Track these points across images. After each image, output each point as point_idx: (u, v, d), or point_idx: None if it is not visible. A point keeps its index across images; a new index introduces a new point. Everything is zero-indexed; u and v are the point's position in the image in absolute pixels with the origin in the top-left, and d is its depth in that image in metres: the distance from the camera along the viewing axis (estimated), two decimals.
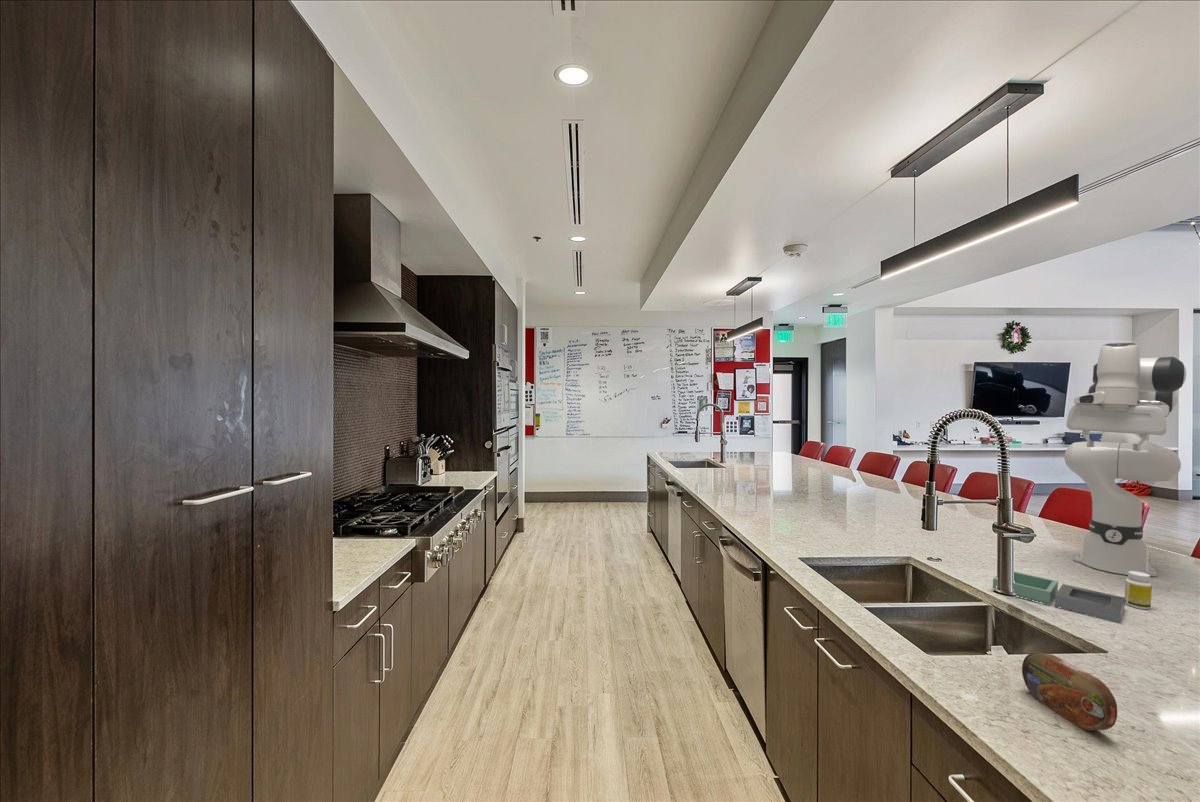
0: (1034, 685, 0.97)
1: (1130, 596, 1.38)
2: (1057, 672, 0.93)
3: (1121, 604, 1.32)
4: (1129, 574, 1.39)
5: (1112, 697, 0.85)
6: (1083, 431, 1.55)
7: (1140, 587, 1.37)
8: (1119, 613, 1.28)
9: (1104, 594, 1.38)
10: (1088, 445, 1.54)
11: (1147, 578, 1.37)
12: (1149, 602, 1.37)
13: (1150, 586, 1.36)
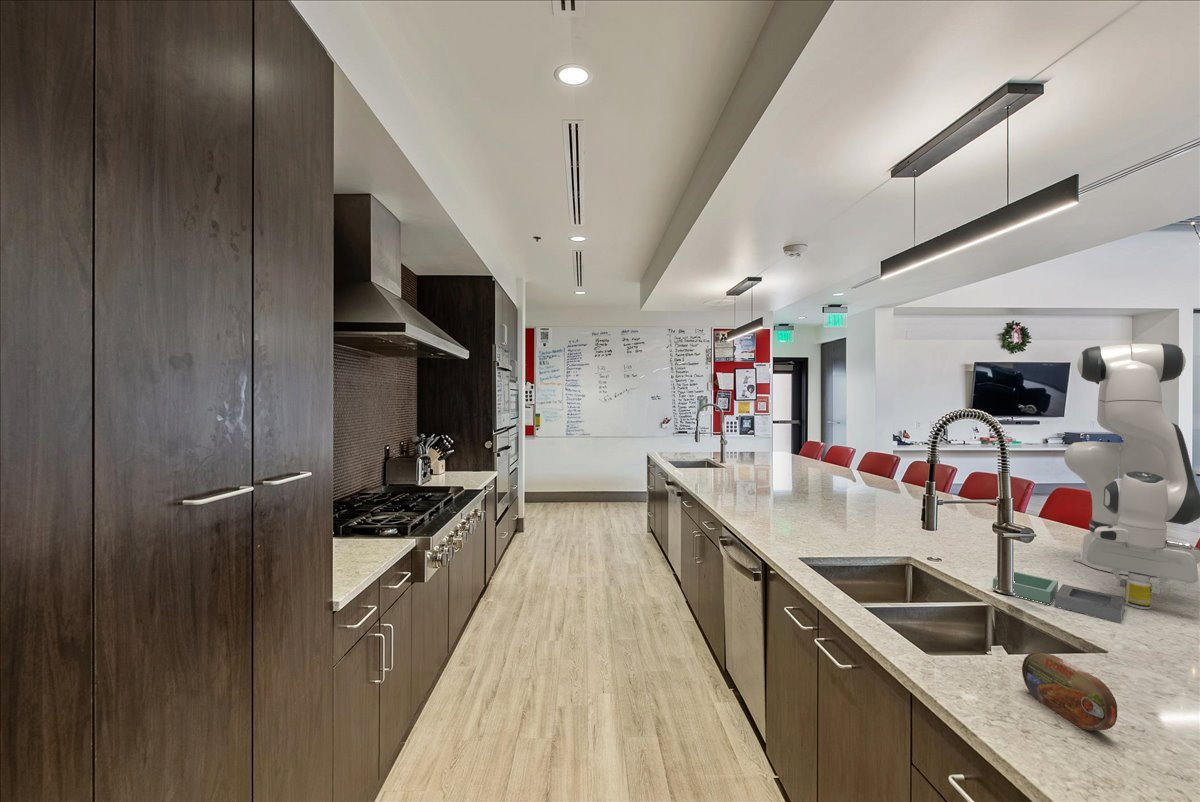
0: (1034, 685, 0.97)
1: (1130, 596, 1.38)
2: (1057, 672, 0.93)
3: (1121, 604, 1.32)
4: (1129, 574, 1.39)
5: (1112, 697, 0.85)
6: (1113, 569, 1.41)
7: (1140, 587, 1.37)
8: (1119, 613, 1.28)
9: (1104, 594, 1.38)
10: (1120, 585, 1.40)
11: (1147, 578, 1.37)
12: (1149, 602, 1.36)
13: (1150, 586, 1.36)
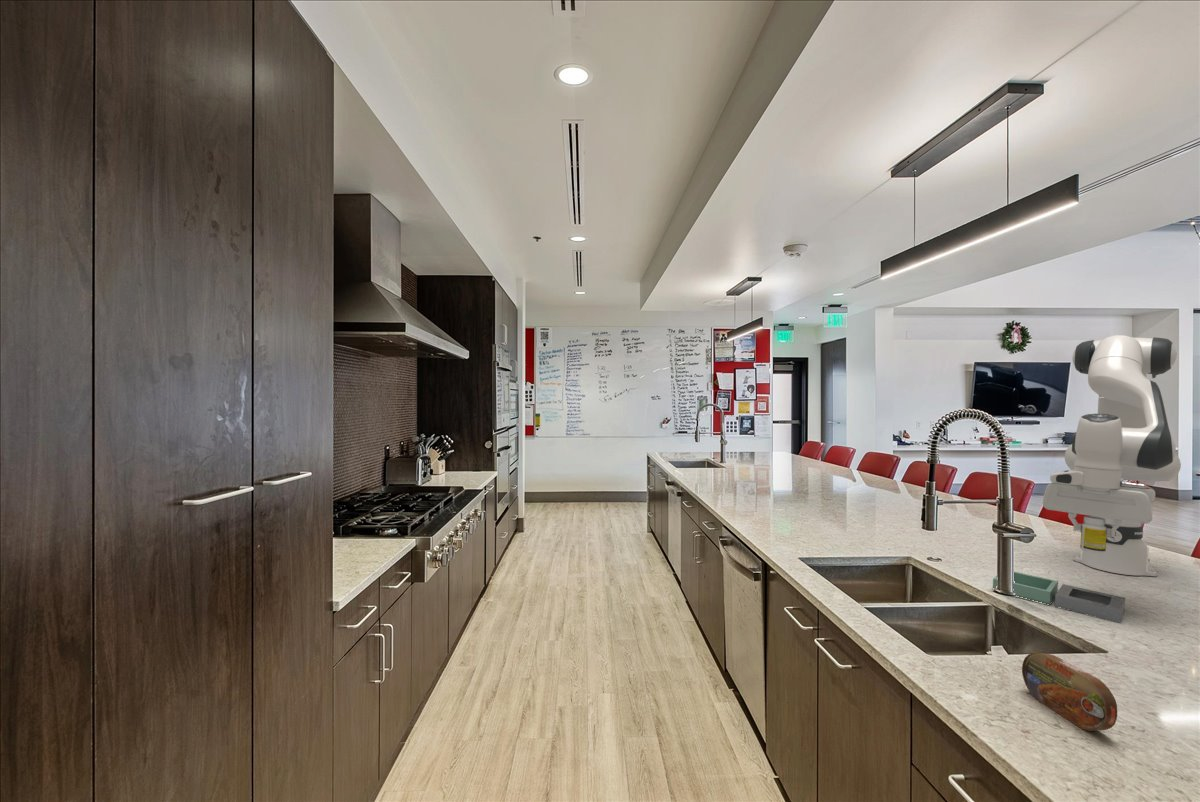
0: (1034, 685, 0.97)
1: (1085, 541, 1.36)
2: (1057, 672, 0.93)
3: (1121, 604, 1.32)
4: (1085, 518, 1.36)
5: (1112, 697, 0.85)
6: (1069, 513, 1.39)
7: (1095, 530, 1.34)
8: (1119, 613, 1.28)
9: (1104, 594, 1.38)
10: (1075, 529, 1.38)
11: (1102, 521, 1.34)
12: (1104, 546, 1.34)
13: (1105, 530, 1.34)
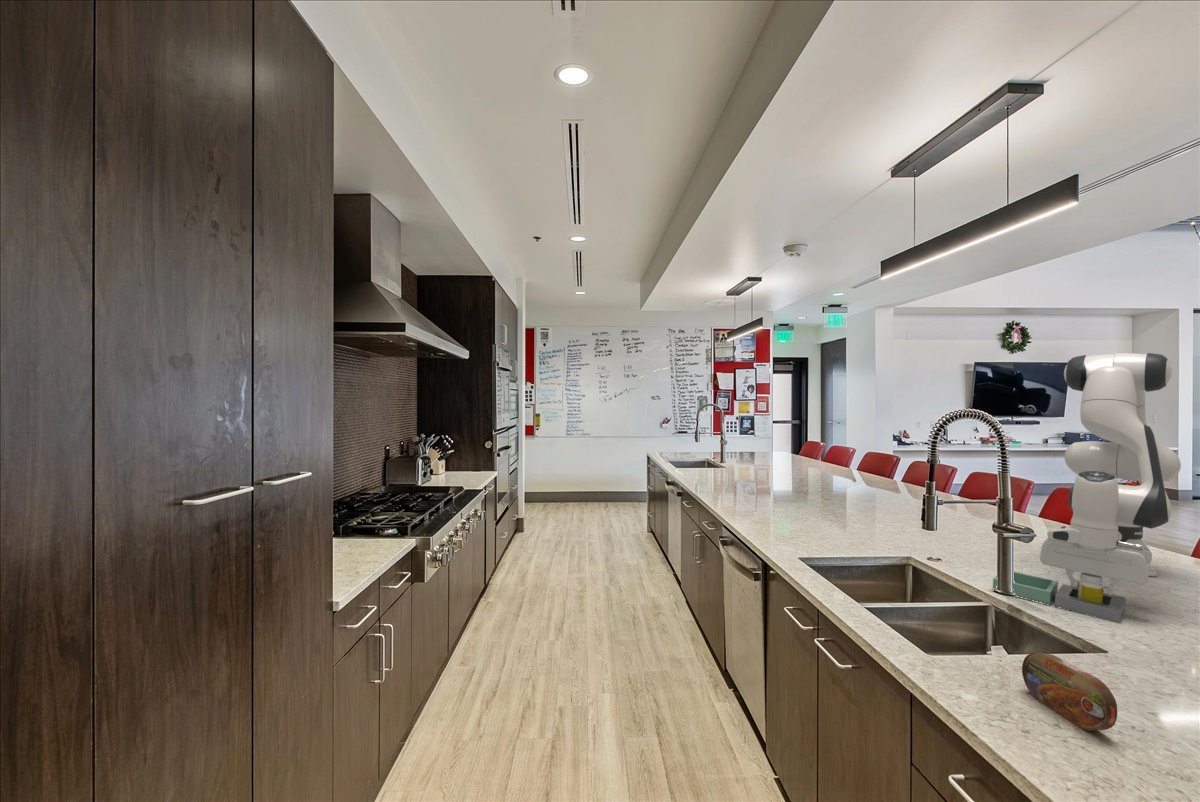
0: (1034, 685, 0.97)
1: (1082, 598, 1.36)
2: (1057, 672, 0.93)
3: (1121, 604, 1.32)
4: (1081, 576, 1.37)
5: (1112, 697, 0.85)
6: (1066, 570, 1.39)
7: (1091, 589, 1.35)
8: (1119, 613, 1.28)
9: None
10: (1072, 586, 1.38)
11: (1099, 580, 1.34)
12: None
13: (1102, 588, 1.34)
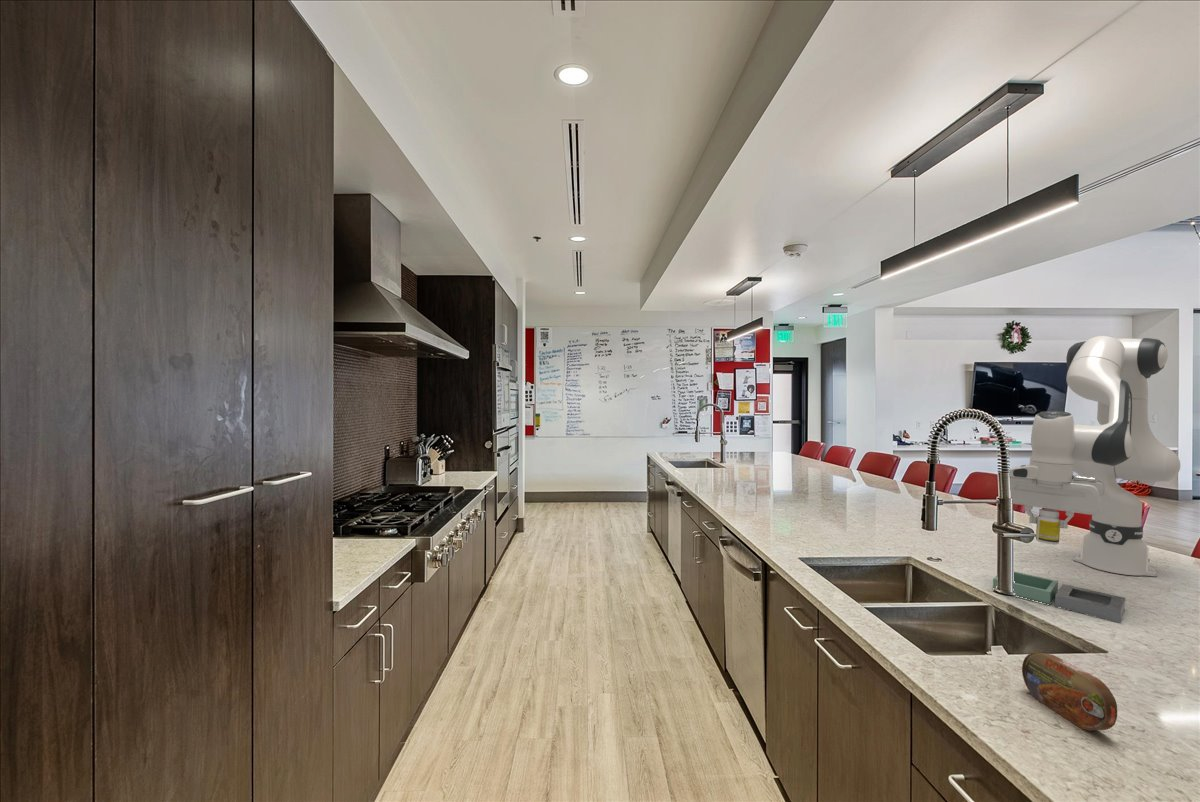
0: (1034, 685, 0.97)
1: (1040, 532, 1.42)
2: (1057, 672, 0.93)
3: (1121, 604, 1.32)
4: (1040, 511, 1.43)
5: (1112, 697, 0.85)
6: (1025, 506, 1.45)
7: (1049, 522, 1.40)
8: (1119, 613, 1.28)
9: (1104, 594, 1.38)
10: (1031, 521, 1.44)
11: (1056, 514, 1.40)
12: (1057, 537, 1.40)
13: (1058, 522, 1.40)
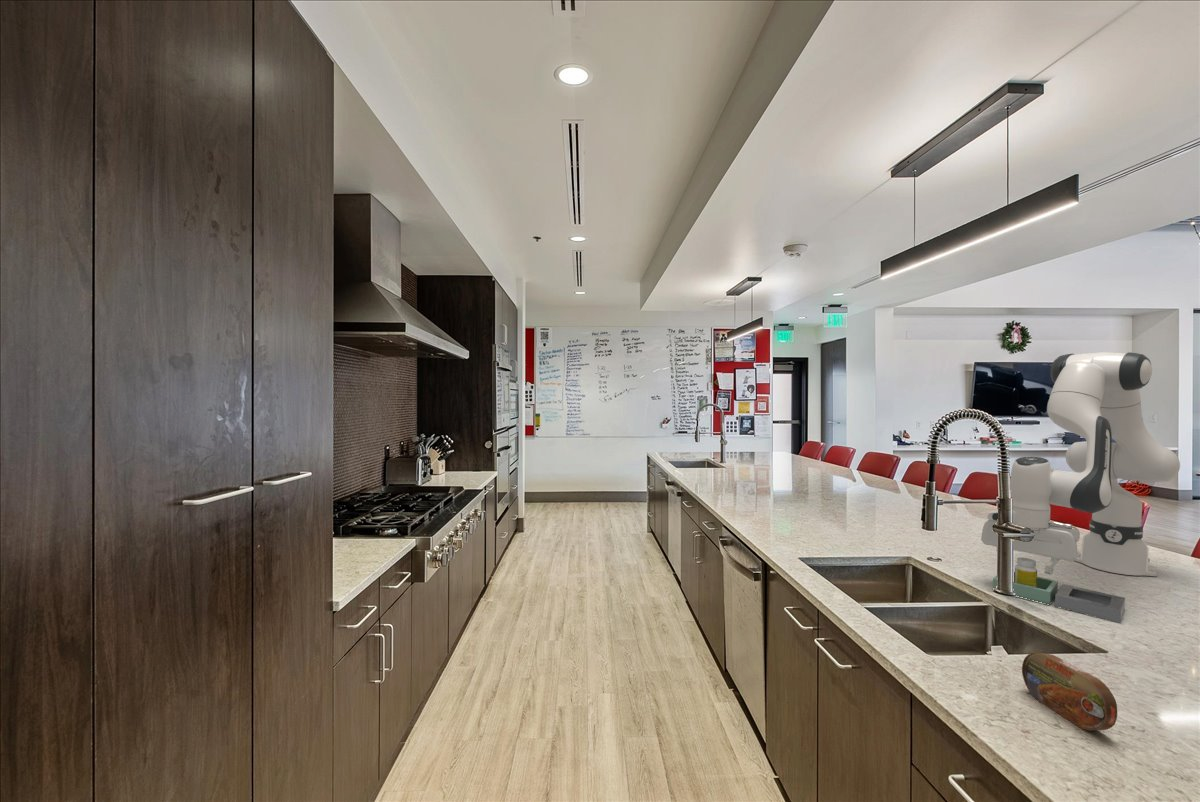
0: (1034, 685, 0.97)
1: (1018, 581, 1.46)
2: (1057, 672, 0.93)
3: (1121, 604, 1.32)
4: (1017, 560, 1.46)
5: (1112, 697, 0.85)
6: (997, 548, 1.50)
7: (1026, 572, 1.44)
8: (1119, 613, 1.28)
9: (1104, 594, 1.38)
10: None
11: (1033, 564, 1.44)
12: None
13: (1035, 571, 1.44)
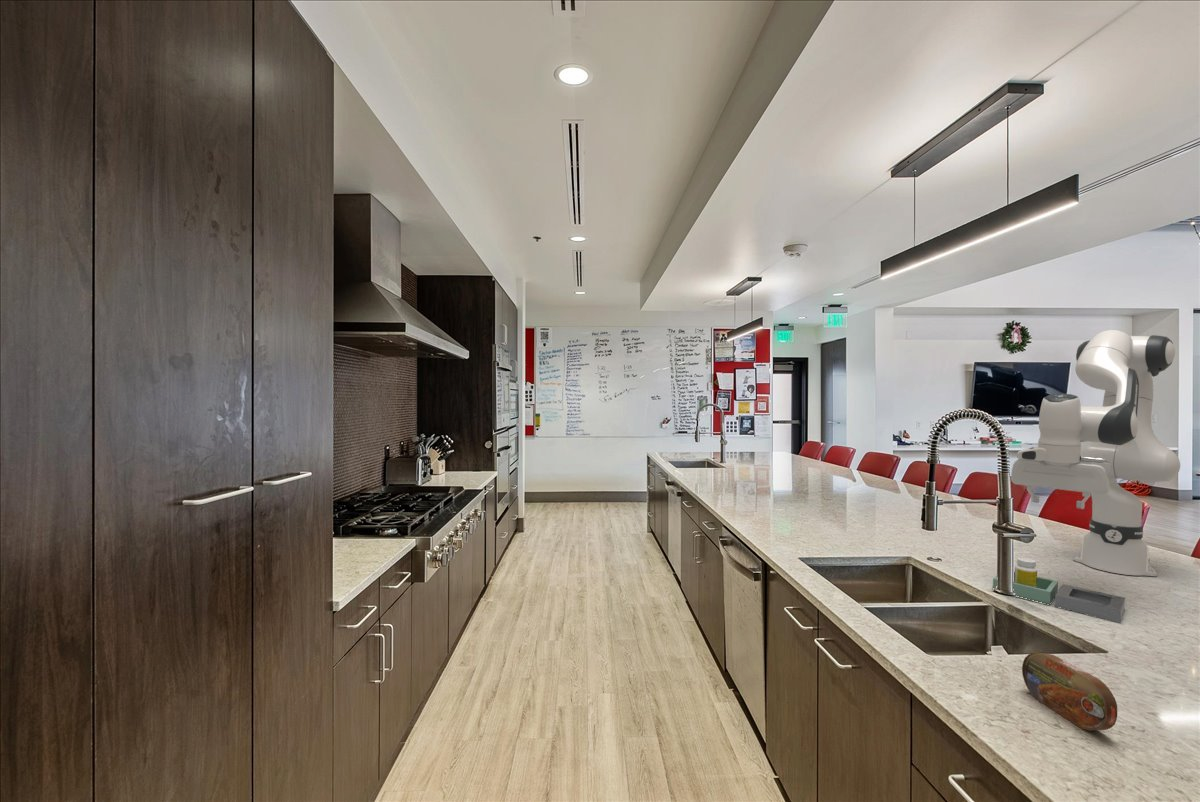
0: (1034, 685, 0.97)
1: (1018, 581, 1.46)
2: (1057, 672, 0.93)
3: (1121, 604, 1.32)
4: (1017, 560, 1.46)
5: (1112, 697, 0.85)
6: (1027, 486, 1.51)
7: (1026, 572, 1.44)
8: (1119, 613, 1.28)
9: (1104, 594, 1.38)
10: (1033, 501, 1.50)
11: (1033, 564, 1.44)
12: None
13: (1035, 571, 1.44)
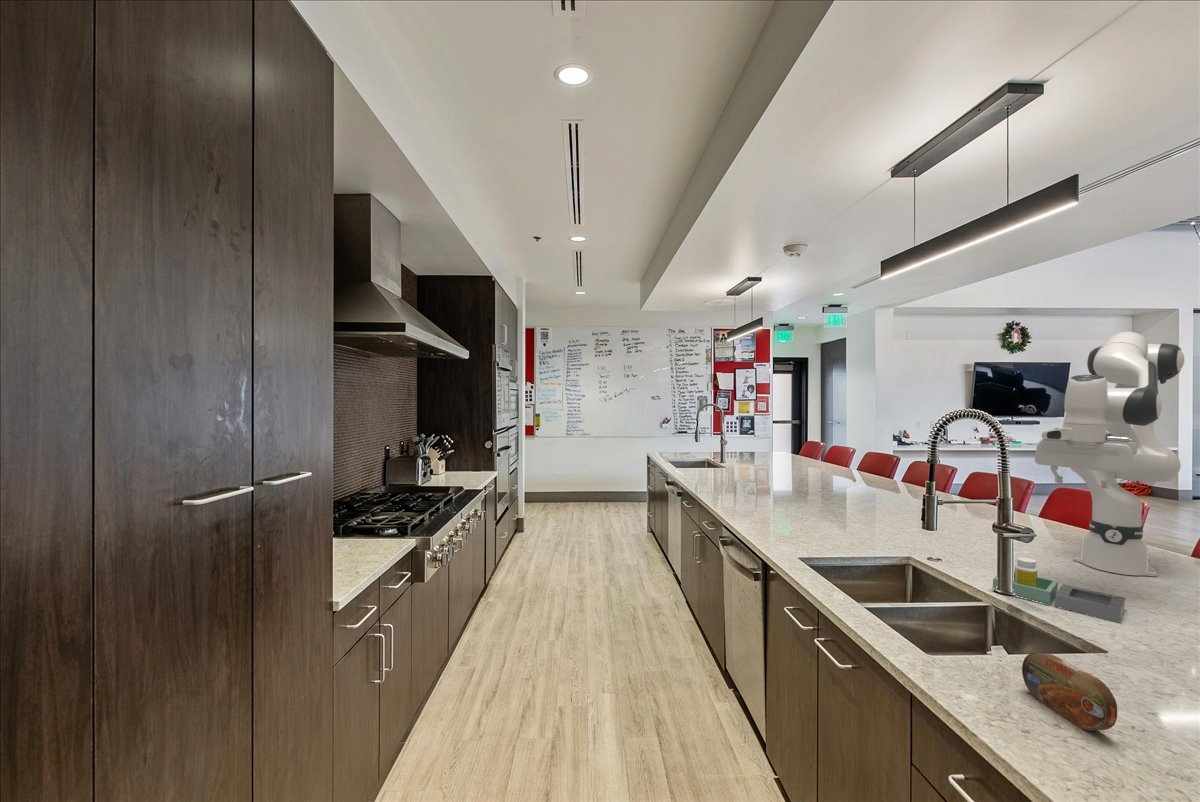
0: (1034, 685, 0.97)
1: (1018, 581, 1.46)
2: (1057, 672, 0.93)
3: (1121, 604, 1.32)
4: (1017, 560, 1.46)
5: (1112, 697, 0.85)
6: (1051, 466, 1.51)
7: (1026, 572, 1.44)
8: (1119, 613, 1.28)
9: (1104, 594, 1.38)
10: (1057, 481, 1.50)
11: (1033, 564, 1.44)
12: None
13: (1035, 571, 1.44)
